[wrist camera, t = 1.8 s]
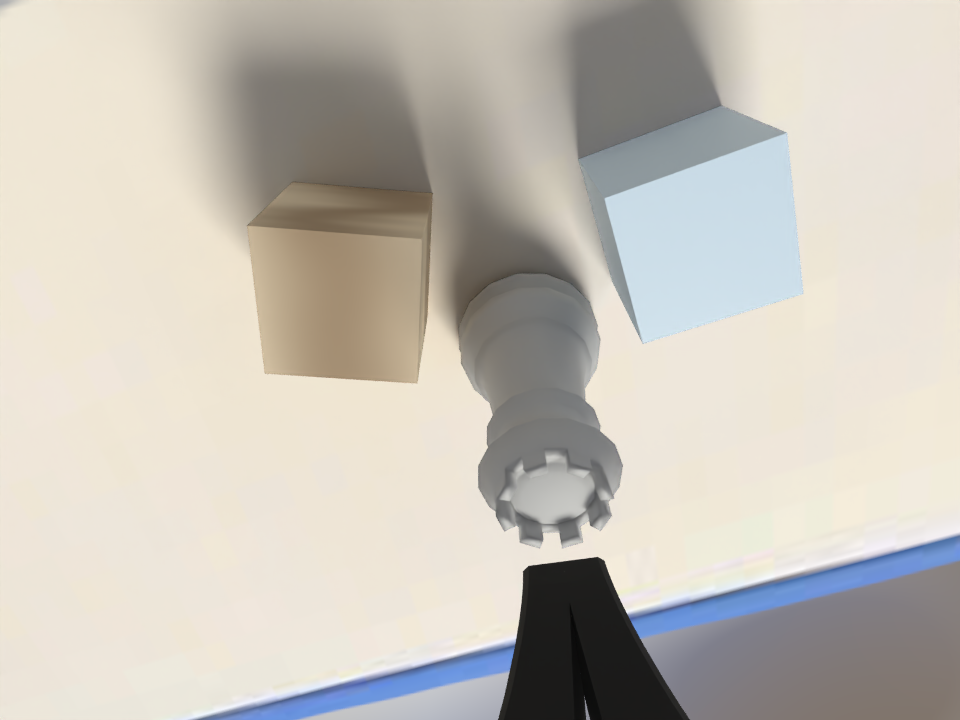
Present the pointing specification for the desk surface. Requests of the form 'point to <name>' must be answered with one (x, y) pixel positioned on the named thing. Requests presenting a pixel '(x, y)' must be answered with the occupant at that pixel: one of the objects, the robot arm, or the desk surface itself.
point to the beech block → (342, 281)
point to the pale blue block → (697, 221)
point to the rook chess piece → (539, 407)
